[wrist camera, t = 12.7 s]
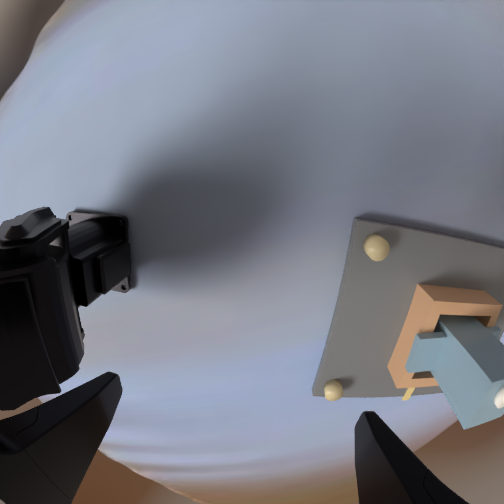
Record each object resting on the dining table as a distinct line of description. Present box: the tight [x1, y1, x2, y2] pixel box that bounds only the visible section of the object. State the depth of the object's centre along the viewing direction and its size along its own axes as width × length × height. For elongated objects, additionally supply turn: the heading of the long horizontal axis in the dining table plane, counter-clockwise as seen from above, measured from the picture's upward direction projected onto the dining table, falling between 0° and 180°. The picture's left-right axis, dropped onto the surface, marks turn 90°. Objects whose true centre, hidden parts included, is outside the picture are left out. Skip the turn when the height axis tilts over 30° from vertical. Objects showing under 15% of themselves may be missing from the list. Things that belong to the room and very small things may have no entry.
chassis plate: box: [312, 218, 504, 401], centre depth 19 cm, size 20×16×4 cm
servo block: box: [405, 314, 504, 429], centre depth 15 cm, size 9×4×11 cm, turn 89°
